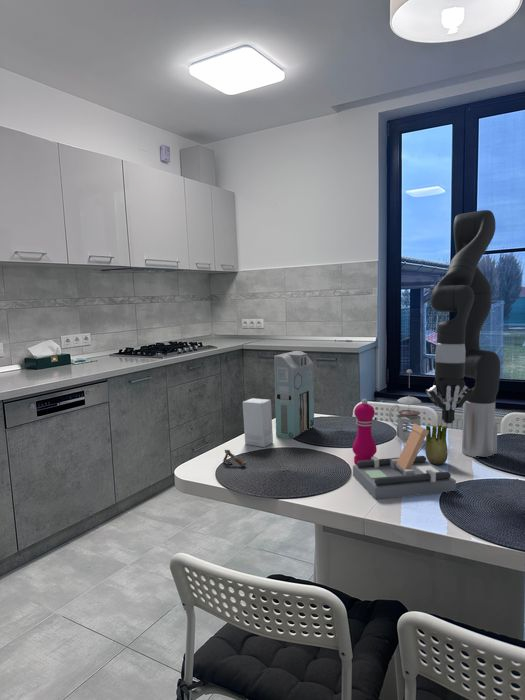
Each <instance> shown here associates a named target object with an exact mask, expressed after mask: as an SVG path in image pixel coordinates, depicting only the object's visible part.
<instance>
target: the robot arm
mask: <svg viewBox="0 0 525 700" xmlns="http://www.w3.org/2000/svg"><path fill="white" fill-rule="evenodd" d="M452 227H453V230H452V231H453V239H454V247H455V248H454V249H455V255H454V256H453V257H452V259H451V261H450V263H449V264H448V265H449V266H448V268H447V271H446V274H445V275H444V276H443V277H442V278H441V279H440V281H439V282H438V283H437V284H436V285H435V286H434V288H433V290H432V293H431V295H430V304H431V307H432V308H433V309H434V311H436V312H439V313H440V312H441V313H444V312H445V313H449V312H450V313H451V312H452V313H457V314H456V315H455V317H454V318H452V319H449V320H443V321H440V322H438V323H437V328H436V346H435V347H436V348H435V359H434V378H435V379H434V381H433V385H432V387H430V388H426V389H425V394H426V395H427V396H428V398H429V399H430V400H431V401H432V403H433V405H435V407H437V408H440V409H441V421H443V423H445V424H453V422H454V421H455V412H456V411H455V410H456V409H458V408H462V434H461V436H462V438H461V439H462V440H461V453H463V454H464V455H465V456H469V457H471V458H472V457H473V458H477V457H476V456H491V455H493V454H498V453H497V451H498V449H497V448H498V425H497V424H496V423H495V422H496V399H497V398H496V397H497V395H498V393H499V388H500V387H499V386H500V377H501V360H500V357H499V355H498V354H497V353H496V352H494V351H492V350H491V351H490V350H485V349H480V334H481V330H482V328H483V325H484V323H485V322H486V320H487V318H488V316H489V315H490V312H491V309H492V287H491V283H490V282H489V280H488V278H487V277H486V275H485V274H484V273H483V272H482V271H481V269H480V268H479V267H478V265H479V263H480V261H481V259H482V257H483V255H484V254H485V252H486V250H488V247H489V245H490V244H491V242H492V240H493V238H494V235H495V232H496V219H495V214H494V213H493V212H492V211H491V210H488V209H487V210H486V209H482V210H481V209H480V210H475V211H470V212H466V213H460V214H459V213H458V214H457V215H455V218H454V220H453V226H452ZM465 377H466V378H471V379H475V383H474V386H473V387H472V388H469V387H468V386H467V385H466V382H465V379H464V378H465ZM493 456H494V455H493Z"/></svg>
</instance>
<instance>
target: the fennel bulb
mask: <svg viewBox="0 0 525 700" xmlns="http://www.w3.org/2000/svg"><path fill="white" fill-rule="evenodd" d="M425 429H426V430H428V431H429V433H428V435H427V436H426V437H425V457H426V461H428V462H429V463H431V464H432V465H436V466H440V465H441V466H442V465H443V464H445V463H446V462H447V460H448V453H449V452H448V444H447V430H448V427H447V426H446V425H442V424H437V425H436V424H435V425H434V424H433V425H432V429H431V425H430V424H427V425H426V426H425Z"/></svg>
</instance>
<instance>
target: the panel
mask: <svg viewBox="0 0 525 700" xmlns="http://www.w3.org/2000/svg"><path fill="white" fill-rule="evenodd" d="M397 461H398V459H391V464H390V465H383V466H379V467H377V468H375V467H374V466H371V467H358V466H357V464H354V465H352V476H353V477H354V479H355V480H356V481H358V483H359V484H360V485H361V486H362V487H363V488H364V489H365V490H366V491H367V493H369V494H370V496H372V498H373V500H380V499H382V500H383V499H392V498H393V499H394V498H403V497H412V496H413V497H414V496H424V495H434V494H444V493H443V492H446V491H452V490H457V489H456V488H457V480H456V479H455V478H453V477H452V476H451V477H450V478H449V479H439V480H436V482H431V481H429V480H428V481H417V482H406V483H395V484H384V485H376V484H375V479H376V478H380V477H391V476H403V475H414V474H425V473H426V470H432V471H433V472H434V473H437V472H444V471H442V469H440V468H439V467H437V466H435V464H433V463H431V462H429V461H428V460H426V461H425V462H418V463H413V465H412V467H411V469H406V470H404V473H403V472H401V471H400V470H399V469H398V468H396V467H395V464H396V463H397ZM446 493H447V492H446Z"/></svg>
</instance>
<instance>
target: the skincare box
mask: <svg viewBox="0 0 525 700" xmlns="http://www.w3.org/2000/svg"><path fill="white" fill-rule="evenodd" d="M242 413H243V414H242V415H243V428H244V430H243V431H244V444H245V445H249V446H254V447H262V448H265V447H267V446H269V445H271V444H272V443H273V442H274V439H273V438H274V437H273V435H274V434H273V419H272V417H273V416H272V415H273V414H272V399H265V398H254V397H252V398H249V399H246V400H243V401H242Z"/></svg>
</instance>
